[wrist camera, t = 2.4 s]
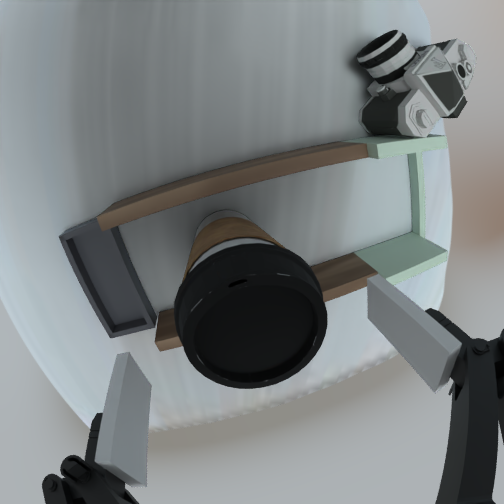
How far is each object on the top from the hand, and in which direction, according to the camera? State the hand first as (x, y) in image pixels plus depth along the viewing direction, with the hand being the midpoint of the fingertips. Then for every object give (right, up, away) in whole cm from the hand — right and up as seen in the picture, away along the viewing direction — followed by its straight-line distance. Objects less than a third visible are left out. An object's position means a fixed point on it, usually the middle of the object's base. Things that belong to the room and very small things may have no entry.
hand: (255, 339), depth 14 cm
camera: (+15, +24, +9) cm, 30 cm away
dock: (+14, +11, +14) cm, 23 cm away
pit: (-14, +2, +12) cm, 19 cm away
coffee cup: (-3, +6, +13) cm, 14 cm away
